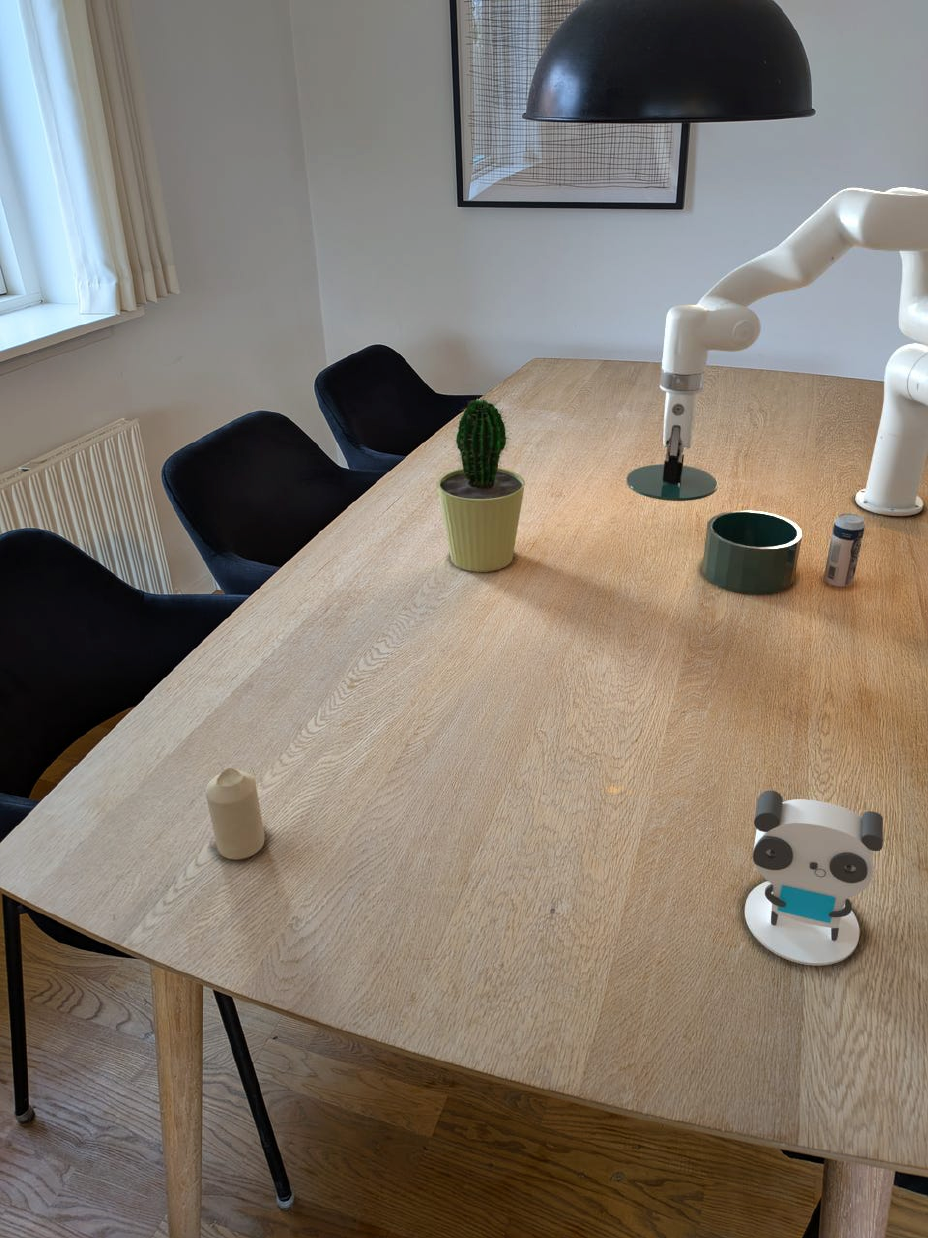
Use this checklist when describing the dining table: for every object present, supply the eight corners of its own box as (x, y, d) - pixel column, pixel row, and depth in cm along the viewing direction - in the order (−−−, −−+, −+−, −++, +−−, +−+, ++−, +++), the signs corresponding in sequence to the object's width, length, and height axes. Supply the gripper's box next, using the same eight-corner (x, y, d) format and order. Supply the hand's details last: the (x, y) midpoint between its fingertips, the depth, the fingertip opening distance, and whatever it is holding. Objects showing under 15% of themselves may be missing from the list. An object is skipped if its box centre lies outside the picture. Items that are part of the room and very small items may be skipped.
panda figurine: (731, 945, 96) (751, 835, 88) (744, 868, 105) (764, 762, 97) (857, 979, 92) (890, 867, 84) (859, 896, 101) (889, 788, 93)
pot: (704, 549, 173) (709, 506, 169) (792, 558, 170) (800, 514, 166) (699, 588, 161) (705, 543, 156) (795, 598, 157) (803, 553, 153)
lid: (631, 466, 183) (634, 433, 180) (718, 474, 180) (723, 440, 176) (620, 499, 170) (623, 464, 166) (715, 508, 166) (720, 472, 162)
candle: (220, 828, 112) (207, 762, 107) (267, 825, 112) (256, 759, 107) (213, 862, 107) (199, 794, 102) (262, 858, 107) (250, 791, 102)
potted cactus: (422, 559, 172) (414, 398, 157) (478, 532, 181) (476, 378, 166) (484, 586, 163) (483, 418, 147) (540, 555, 172) (545, 395, 157)
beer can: (854, 589, 159) (868, 525, 153) (824, 587, 160) (837, 523, 154) (850, 576, 163) (863, 513, 157) (821, 574, 164) (833, 511, 158)
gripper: (702, 394, 157) (690, 497, 166) (706, 368, 170) (695, 464, 180) (656, 391, 159) (647, 493, 168) (664, 366, 172) (655, 461, 181)
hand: (672, 477), depth 174 cm, fingers closed on lid, 2 cm apart
